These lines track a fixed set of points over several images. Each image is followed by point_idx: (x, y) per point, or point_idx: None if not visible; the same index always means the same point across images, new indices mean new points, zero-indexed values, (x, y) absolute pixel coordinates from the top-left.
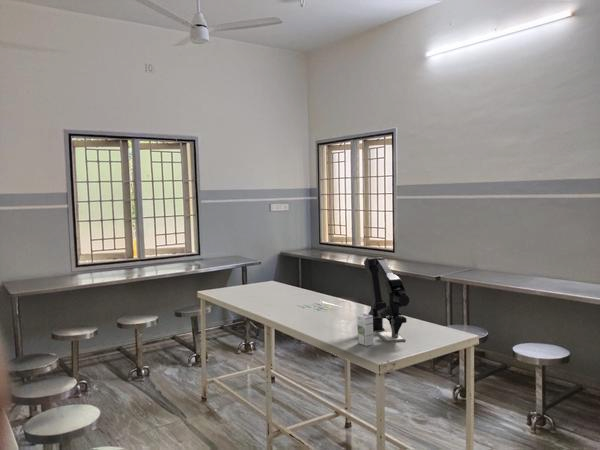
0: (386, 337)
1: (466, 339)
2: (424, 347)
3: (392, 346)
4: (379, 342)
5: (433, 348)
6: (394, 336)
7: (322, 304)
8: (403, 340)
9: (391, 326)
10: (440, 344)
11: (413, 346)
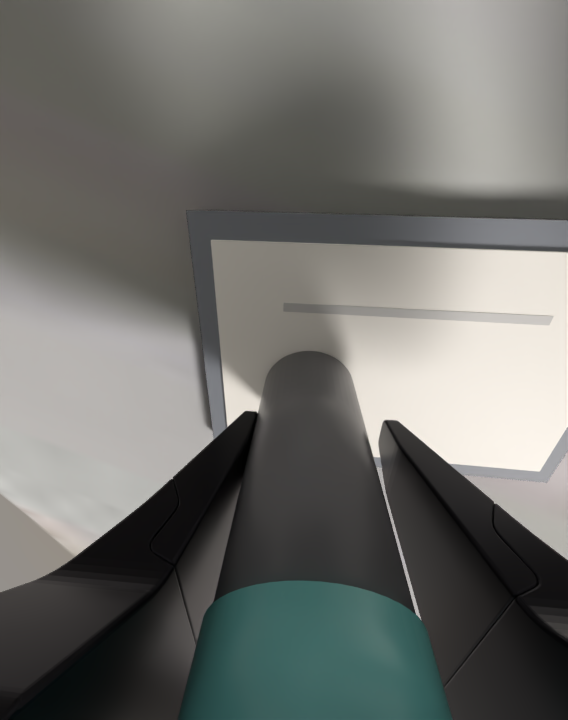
0: (333, 275)
1: None
2: (56, 489)
3: (41, 239)
4: (229, 89)
5: (42, 521)
6: (266, 381)
7: None
8: (215, 429)
9: (328, 481)
10: None
11: (71, 437)
